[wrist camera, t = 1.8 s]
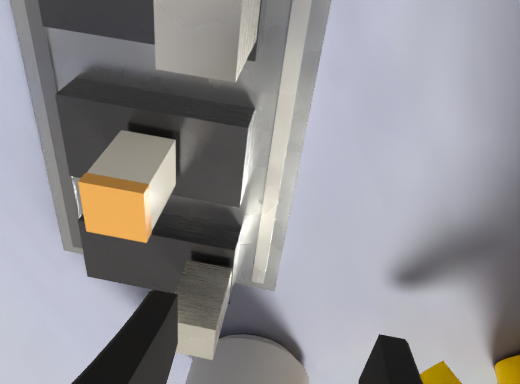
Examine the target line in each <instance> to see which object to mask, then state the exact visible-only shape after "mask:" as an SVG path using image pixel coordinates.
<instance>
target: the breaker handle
mask: <svg viewBox="0 0 520 384" xmlns="http://www.w3.org/2000/svg"><path fill="white" fill-rule="evenodd" d="M78 185H79V191H80V197H81V203H82V209H83V215H84V221H85V226H86V231H87V232H92V233H97V234H102V235H107V236H113V237H118V238H123V239H128V240H134V241H139V242H144V243H147V241H148V239H149V237H150V235H151V233H152V230H153V228H154V226H155V224H156V222H157V220H158V218H159V216H160V214H161V212H162V210H163V208H164V206H165V205H166V203H167V201H168V199H169V197H170V195H171V193H172V191H173V189H174V187H175V185H176V140H174V139H168V138H163V137H157V136H151V135H146V134H140V133H135V132H129V131H123V130H121V131H120V132H119V133H118V135H117V136H116V137H115V138H114V140H113V141H112V142H111V143H110V145H109V146H108V147H107V148H106V149H105V151H104V152H103V153H102V154H101V156H100V157H99V158H98V159H97V161H96V162H95V163H94V164H93V165H92V167H91V168H90V169H89V170H88V172H87V173H85V174H84V175H83V176H82V177H81V179H80V180H79V181H78Z"/></svg>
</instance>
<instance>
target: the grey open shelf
mask: <svg viewBox="0 0 520 384" xmlns="http://www.w3.org/2000/svg"><path fill="white" fill-rule="evenodd" d="M10 2H11V7H12V11H13V16H14V21H15V25H16V30H17V35H18V39H19V44H20V49H21V53H22V58H23V63H24V67H25V72H26V76H27V81H28V86H29V90H30V95H31V100H32V104H33V109H34V114H35V118H36V123H37V127H38V132H39V137H40V141H41V146H42V151H43V155H44V160H45V165H46V169H47V174H48V179H49V183H50V188H51V192H52V197H53V202H54V206H55V211H56V216H57V220H58V225H59V230H60V234H61V239H62V244H63V248H64V250H66V251H71V252H76V253H81V254H84V259H85V265H86V270H87V276H88V277H93V278H98V279H103V280H108V281H113V282H118V283H123V284H128V285H133V286H139V287H144V288H149V289H154V290H159V291H164V292H169V293H174V294H178V345H177V348H176V353H181V354H186V355H190V356H195V357H200V358H205V359H210V360H213V358H214V354H215V350H216V346H217V343H218V339H219V335H220V331H221V328H222V324H223V320H224V316H225V313H226V309H227V305H228V304H230V300H231V296H232V293H233V289H234V285H235V284H240V285H245V286H251V287H256V288H261V289H266V290H271V291H275V286H276V280H277V275H278V270H279V265H280V260H281V255H282V250H283V245H284V239H285V234H286V229H287V224H288V219H289V214H290V209H291V204H292V199H293V193H294V188H295V183H296V178H297V173H298V168H299V163H300V158H301V153H302V147H303V142H304V137H305V132H306V127H307V122H308V117H309V112H310V106H311V101H312V96H313V91H314V86H315V81H316V76H317V71H318V66H319V60H320V55H321V50H322V45H323V40H324V35H325V30H326V25H327V20H328V14H329V9H330V4H331V0H10ZM121 130H123V131H129V132H135V133H140V134H146V135H151V136H157V137H163V138H168V139H174V140H176V185H175V187H174V189H173V191H172V193H171V195H170V197H169V199H168V201H167V203H166V205H165V206H164V208H163V210H162V212H161V214H160V216H159V218H158V220H157V222H156V224H155V226H154V228H153V230H152V233H151V235H150V237H149V239H148V241H147V243H144V242H139V241H134V240H128V239H123V238H118V237H113V236H107V235H102V234H97V233H92V232H87V231H86V226H85V221H84V215H83V209H82V203H81V197H80V191H79V185H78V181H79V180H80V179H81V177H82V176H83V175H84V174H85V173H87V172H88V170H89V169H90V168H91V167H92V165H93V164H94V163H95V162H96V161H97V159H98V158H99V157H100V156H101V154H102V153H103V152H104V151H105V149H106V148H107V147H108V146H109V145H110V143H111V142H112V141H113V140H114V138H115V137H116V136H117V135H118V133H119V132H120V131H121Z"/></svg>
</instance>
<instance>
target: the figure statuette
mask: <svg viewBox="0 0 520 384" xmlns="http://www.w3.org/2000/svg"><path fill="white" fill-rule="evenodd" d="M495 373H496V377H497V381H498V384H520V355H517V356H514V357H510V358H506V359H503V360H501V361H499V362H498V363H496V365H495ZM420 377H421V379H422V382H423V384H462V383H461V382H460V381H459V380H458V379H457V377H456V376H455V375H454V374H453V372H452V371H451V370H450V368H449V367H448V366H447V365H446V364H445V362H444V361H442V362H440V363H438V364H436V365H434V366H433V367H431V368H429V369H427V370H426V371H424V372H423V373H421V374H420Z"/></svg>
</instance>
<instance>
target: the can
mask: <svg viewBox="0 0 520 384" xmlns="http://www.w3.org/2000/svg"><path fill="white" fill-rule="evenodd" d="M308 381H309V377H308V375H307V373H306V370H305V368H304V366H303V365H302V364H301V363H300V362H299V361H298V360H297V359H296V358H295V357H294V356H293V355H292V354H291V353H290V352H289V351H288V350H287V349H286V348H285V347H283V346H281V345H280V344H278V343H276V342H274V341H273V340H270V339H266V338H263V337H260V336H255V335H247V334H237V335H228V336H225V337H223V338H220V339H218V343H217V346H216V350H215V354H214V358H213V360H210V359H205V358H200V357H195V356H194V358H193V361H192V364H191V367H190V371H189V374H188V377H187V380H186V384H308Z"/></svg>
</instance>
